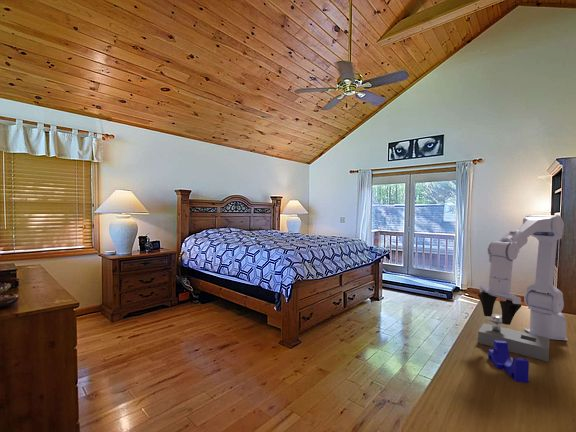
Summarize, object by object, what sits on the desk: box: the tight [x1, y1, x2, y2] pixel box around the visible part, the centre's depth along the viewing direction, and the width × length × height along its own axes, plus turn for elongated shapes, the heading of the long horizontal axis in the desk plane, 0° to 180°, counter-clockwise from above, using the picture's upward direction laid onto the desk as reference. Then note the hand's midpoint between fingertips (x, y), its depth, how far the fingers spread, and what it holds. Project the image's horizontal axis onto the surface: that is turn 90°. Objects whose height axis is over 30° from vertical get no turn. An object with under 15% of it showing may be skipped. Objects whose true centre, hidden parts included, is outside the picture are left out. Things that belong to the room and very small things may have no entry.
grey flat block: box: [477, 323, 550, 363], centre depth 98 cm, size 18×10×4 cm, turn 47°
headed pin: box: [487, 313, 503, 332], centre depth 101 cm, size 5×5×5 cm
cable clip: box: [487, 340, 530, 383], centre depth 84 cm, size 12×4×6 cm, turn 168°
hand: (496, 320), depth 94 cm, fingers open, 7 cm apart
